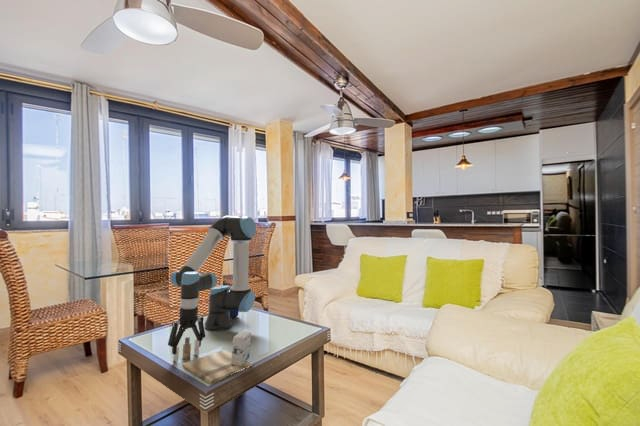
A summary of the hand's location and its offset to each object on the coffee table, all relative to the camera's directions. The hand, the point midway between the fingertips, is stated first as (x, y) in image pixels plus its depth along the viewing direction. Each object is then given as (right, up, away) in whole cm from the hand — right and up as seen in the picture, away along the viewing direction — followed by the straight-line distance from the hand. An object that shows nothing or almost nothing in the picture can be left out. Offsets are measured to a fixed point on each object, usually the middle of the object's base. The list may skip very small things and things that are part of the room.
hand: (186, 357), depth 143 cm
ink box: (+25, 0, -4) cm, 26 cm away
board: (+16, -1, -7) cm, 18 cm away
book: (+2, -2, +58) cm, 58 cm away
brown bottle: (0, 0, 0) cm, 0 cm away
